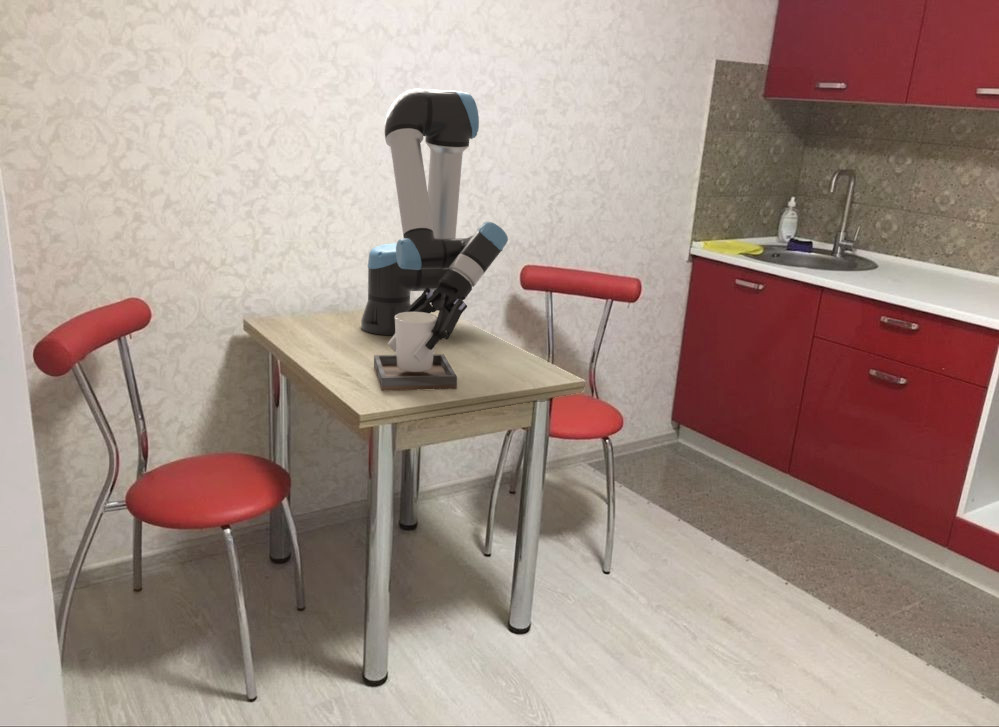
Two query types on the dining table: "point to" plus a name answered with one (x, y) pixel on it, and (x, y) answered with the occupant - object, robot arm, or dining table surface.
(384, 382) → the socket base
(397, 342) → the candle holder
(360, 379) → the dining table surface
